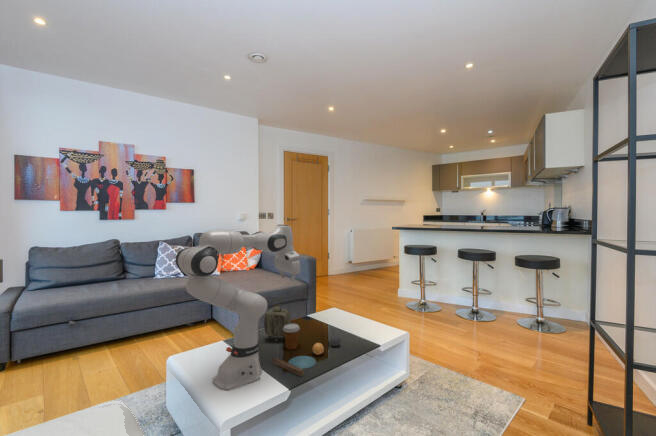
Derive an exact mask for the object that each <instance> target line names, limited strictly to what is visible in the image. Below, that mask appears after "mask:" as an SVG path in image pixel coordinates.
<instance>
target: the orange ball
mask: <svg viewBox="0 0 656 436" xmlns="http://www.w3.org/2000/svg"><path fill="white" fill-rule="evenodd" d="M324 350H325V348H324V345H323V343H321V342H316V343H314V344H313V346H312V352H313V353H314V355H317V356H319V355H322V354H323V353H324Z"/></svg>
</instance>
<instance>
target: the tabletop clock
mask: <svg viewBox="0 0 656 436" xmlns="http://www.w3.org/2000/svg"><path fill="white" fill-rule="evenodd" d="M273 301H280V302H281V303H276V304H275V303H273ZM270 303H271V305H273V308H271V309H269V310H268V311H266V312H265V314H264V319H263V327H264V328H263V329H264V333H265V335H266V336H268V339H271V338H272V337H275V339H274V341H275V342H276V343H277V342H278V341H279V339H278V337H285V336H284V330H283V328H284V326H285V325H287V324H291V321H292V320H291V313H290V311H289V310H288V309H286V308H281V306H282V305H283V303H284V301H283V300H282V299H280V298H273V299H272V300H271V301H270Z"/></svg>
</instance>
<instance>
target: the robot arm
mask: <svg viewBox="0 0 656 436" xmlns="http://www.w3.org/2000/svg"><path fill="white" fill-rule="evenodd" d="M293 244H294V235H293V230H292V227H291V226H290V225H288V224H276V227H275V228H273V230H272V231H270V232H267V231H266V232H265V231H256V232H255V233H254V232H253V233H252V234H242V233H241V232H239V231H237V230H232V229H212V230H207V231H204V232H203V233H201V235H200V237H199V242H198V246H196V247H185V248H182V249H181V250H179V251H178V252H177V254H176V256H175V259H174V260H175V264H176V267H177V268H178V269H179V271H180V272H181V273H182V275H183V276H184V277H187V278H188V279H187V281H186V285H185V289H186V290H185V291H187V293H188V295H191V297H194V298H195V299H197V300H199V301H202V302H203V303H204V302H205V303H206V304H210V305H213V306H215V307H217V308H220V309H224V310H226V311H229V312H231V313H234V314H238V315H239V320H238V323H237V324H236V325H235V326H234V328H233V346H232V347H230V346H227V347H226V350H225V352H228V353H230V354H229V355H228V356H227V357H226V358H225V360H224V361H223V362H222V363H221V364H220V365H219V367H218V369H217V374H216V375H215V376H213V378H212V380H211V381H212V384H213V386H215V387H216V388H218V389H220V390H223V391H231V390H234V389H237V388H240V387H242V386H245V385H247V384H251V383H253V382H256V381H259V380H260V379H261V377H260V376H261V375H262V372H263V370H262V366H261V363H260V356H259V351H260V342H259V324H260V321H261V318H262V317H263V316H265V314H266V313H267V310H268V301H267V299H266V298H265V297H264V296H262V295H260V294H258V293H256V292H255V293H254V292H251V291H248V290H245V289H242V288H239V287H237V286H235V285H234V284H232V283H230V282H229V281H225V280H224V279H220V278H219V277H216V276H213V274H214V273H215V272H216V270H217V269H218V265H219V258H220V255H233V254H238V253H239V252H241V251H242V249H243V248H252V249H254V250H256V251H264V252H270V253H276V254H275V257H274V267H275V269H276V270H278V271H279V273H280V277H281V279H285V278H286V274H285V273H288V274H290V276H291V277H290V282H295V281H296V275H299V274H300V273H301V262H300V258H301V255H300V254H299V253H298V252H296V250H295V247H294V245H293Z"/></svg>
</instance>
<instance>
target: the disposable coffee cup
mask: <svg viewBox="0 0 656 436" xmlns="http://www.w3.org/2000/svg"><path fill="white" fill-rule="evenodd" d="M300 329H301V328H300V325H299V324H297V323H290V324H287V325H285V326H284V328H283V330H284V336H283V337H284V340H285V341H284V343H285V348H286V349H287V350H296V349H297V348H298V344H299V343H298V341H299V333H300Z"/></svg>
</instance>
